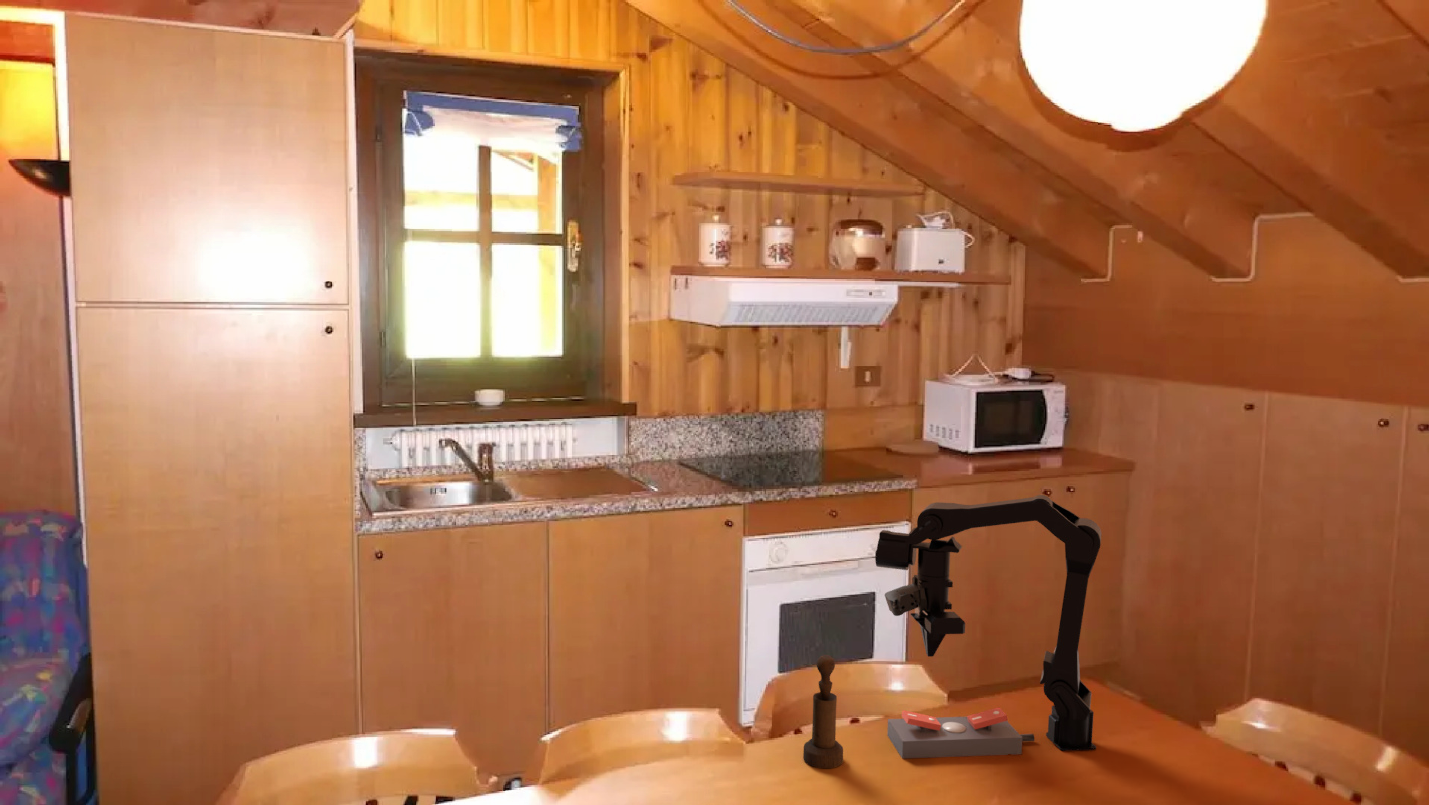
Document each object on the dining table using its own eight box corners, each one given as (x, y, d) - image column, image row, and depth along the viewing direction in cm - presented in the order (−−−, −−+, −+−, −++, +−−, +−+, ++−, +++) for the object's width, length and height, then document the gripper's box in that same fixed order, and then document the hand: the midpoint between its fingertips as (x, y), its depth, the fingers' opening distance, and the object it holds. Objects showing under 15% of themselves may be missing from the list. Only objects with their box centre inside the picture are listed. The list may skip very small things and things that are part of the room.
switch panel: (1022, 730, 183) (1023, 711, 183) (1043, 753, 175) (1044, 733, 174) (887, 735, 181) (888, 715, 180) (902, 758, 172) (902, 738, 171)
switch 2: (1000, 712, 180) (998, 706, 179) (1007, 720, 176) (1006, 714, 176) (967, 721, 179) (966, 715, 179) (974, 729, 176) (973, 723, 176)
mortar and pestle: (842, 752, 174) (845, 650, 172) (843, 770, 167) (846, 664, 165) (803, 750, 174) (806, 648, 172) (802, 767, 168) (805, 662, 166)
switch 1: (933, 722, 178) (935, 716, 178) (939, 730, 175) (941, 725, 175) (901, 715, 178) (903, 709, 177) (907, 723, 174) (908, 717, 174)
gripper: (876, 560, 193) (873, 639, 195) (905, 588, 175) (902, 676, 177) (933, 559, 195) (930, 638, 196) (968, 587, 176) (964, 674, 178)
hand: (929, 655), depth 187 cm, fingers closed
